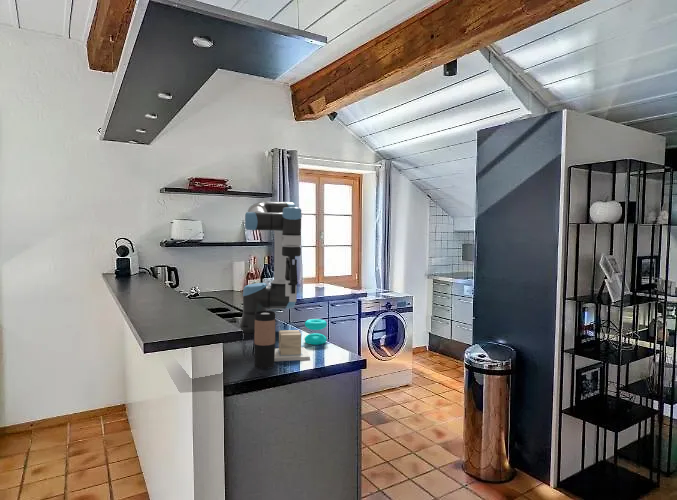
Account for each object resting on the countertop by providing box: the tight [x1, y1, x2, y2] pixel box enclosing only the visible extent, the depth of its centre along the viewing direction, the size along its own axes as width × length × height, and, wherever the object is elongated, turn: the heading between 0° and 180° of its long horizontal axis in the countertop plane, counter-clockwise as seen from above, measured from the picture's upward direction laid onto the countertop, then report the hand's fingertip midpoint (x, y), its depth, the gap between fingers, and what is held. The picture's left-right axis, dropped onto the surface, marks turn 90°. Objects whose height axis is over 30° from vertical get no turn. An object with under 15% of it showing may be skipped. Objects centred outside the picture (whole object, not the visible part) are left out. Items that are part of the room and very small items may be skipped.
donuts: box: [304, 318, 328, 346], centre depth 200 cm, size 10×10×10 cm
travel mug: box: [253, 310, 276, 370], centre depth 164 cm, size 8×8×20 cm
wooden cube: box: [278, 329, 302, 355], centre depth 178 cm, size 8×8×8 cm
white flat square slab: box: [274, 346, 311, 362], centre depth 178 cm, size 14×14×1 cm
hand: (290, 298), depth 178 cm, fingers open, 13 cm apart
